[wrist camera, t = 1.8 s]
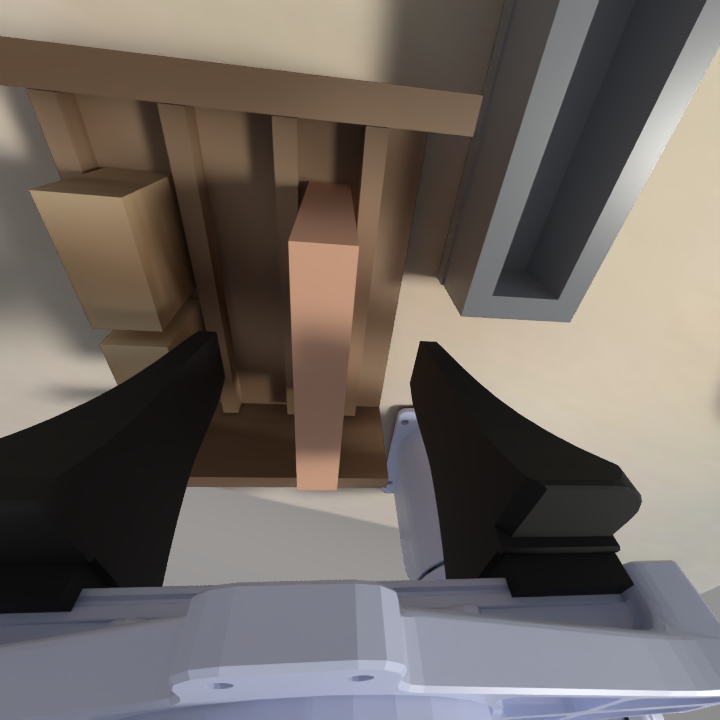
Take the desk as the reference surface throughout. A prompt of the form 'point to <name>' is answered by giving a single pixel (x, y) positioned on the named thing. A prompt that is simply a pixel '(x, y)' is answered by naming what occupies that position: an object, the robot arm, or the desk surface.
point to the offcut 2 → (150, 342)
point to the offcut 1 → (120, 245)
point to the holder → (567, 145)
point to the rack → (255, 215)
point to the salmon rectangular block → (321, 327)
